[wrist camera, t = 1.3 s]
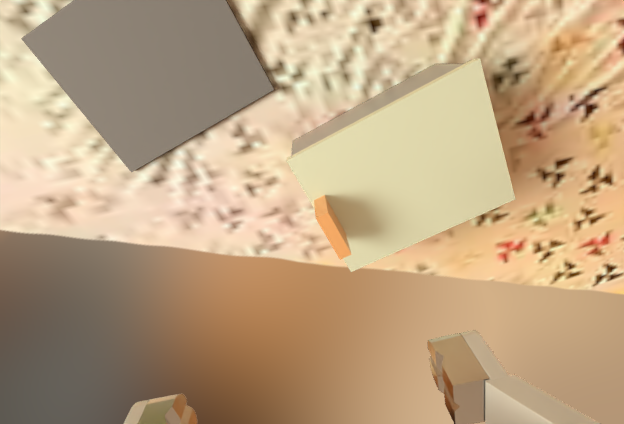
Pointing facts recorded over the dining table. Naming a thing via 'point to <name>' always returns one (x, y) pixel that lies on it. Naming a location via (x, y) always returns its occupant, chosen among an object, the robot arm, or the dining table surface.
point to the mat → (150, 69)
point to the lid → (408, 169)
